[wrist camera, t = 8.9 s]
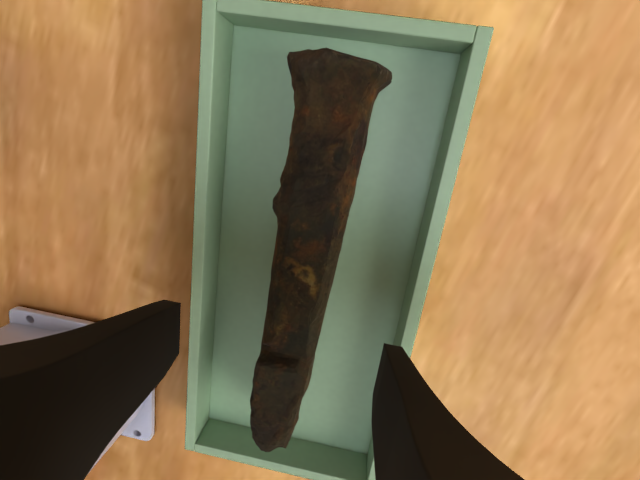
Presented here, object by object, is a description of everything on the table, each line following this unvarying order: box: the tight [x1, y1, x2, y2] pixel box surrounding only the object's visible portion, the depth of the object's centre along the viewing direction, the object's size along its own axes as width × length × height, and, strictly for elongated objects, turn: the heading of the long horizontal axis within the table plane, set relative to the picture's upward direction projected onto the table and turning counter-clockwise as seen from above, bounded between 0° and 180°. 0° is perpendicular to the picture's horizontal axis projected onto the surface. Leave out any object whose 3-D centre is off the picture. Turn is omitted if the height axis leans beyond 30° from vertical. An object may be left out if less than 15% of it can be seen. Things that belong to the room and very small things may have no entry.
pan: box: [185, 0, 494, 480], centre depth 18 cm, size 11×23×2 cm, turn 172°
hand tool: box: [250, 48, 392, 452], centre depth 17 cm, size 19×4×5 cm, turn 167°
